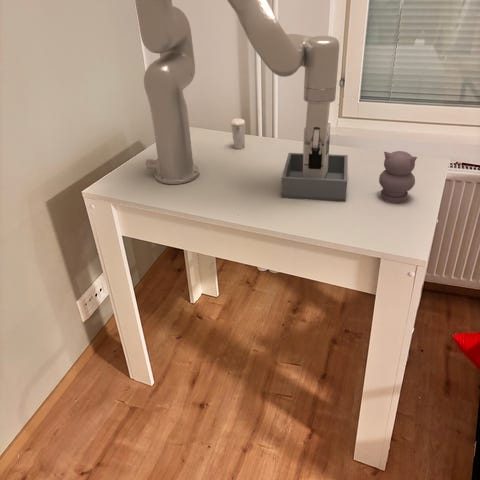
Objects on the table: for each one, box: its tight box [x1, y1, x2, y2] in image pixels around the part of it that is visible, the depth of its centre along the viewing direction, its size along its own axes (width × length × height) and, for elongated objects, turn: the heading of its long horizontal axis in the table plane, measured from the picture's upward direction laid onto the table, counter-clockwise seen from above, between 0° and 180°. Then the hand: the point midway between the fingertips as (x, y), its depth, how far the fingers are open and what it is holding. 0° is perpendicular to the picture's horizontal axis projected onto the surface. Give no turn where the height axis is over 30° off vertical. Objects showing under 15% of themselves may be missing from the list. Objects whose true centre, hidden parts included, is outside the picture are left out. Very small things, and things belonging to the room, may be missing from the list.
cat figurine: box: [378, 150, 418, 204], centre depth 115 cm, size 8×8×12 cm
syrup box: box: [302, 122, 331, 179], centre depth 120 cm, size 6×6×14 cm
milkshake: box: [230, 117, 247, 150], centre depth 146 cm, size 5×5×10 cm
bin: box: [281, 152, 349, 202], centre depth 123 cm, size 16×16×6 cm
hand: (315, 162), depth 121 cm, fingers closed on syrup box, 6 cm apart
